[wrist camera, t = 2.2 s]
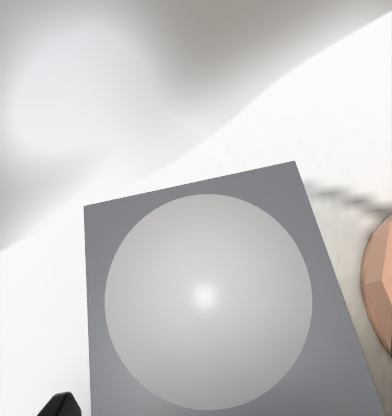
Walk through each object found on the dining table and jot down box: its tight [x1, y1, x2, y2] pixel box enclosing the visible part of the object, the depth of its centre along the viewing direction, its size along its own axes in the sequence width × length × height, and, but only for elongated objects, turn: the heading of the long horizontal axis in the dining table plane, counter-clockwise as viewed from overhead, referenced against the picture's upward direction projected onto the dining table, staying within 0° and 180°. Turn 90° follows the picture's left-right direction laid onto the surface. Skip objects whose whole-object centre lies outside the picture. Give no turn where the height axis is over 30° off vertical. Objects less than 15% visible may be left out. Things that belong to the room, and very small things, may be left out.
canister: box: [84, 161, 385, 416], centre depth 11 cm, size 4×4×14 cm
